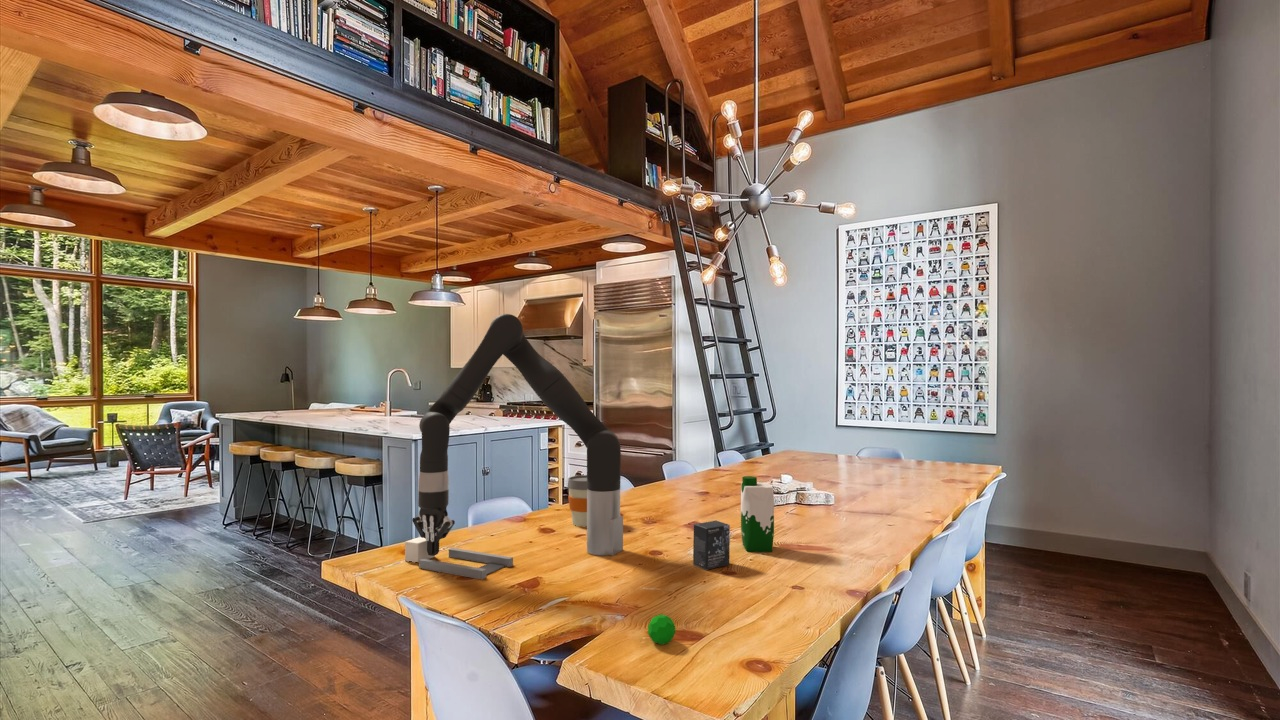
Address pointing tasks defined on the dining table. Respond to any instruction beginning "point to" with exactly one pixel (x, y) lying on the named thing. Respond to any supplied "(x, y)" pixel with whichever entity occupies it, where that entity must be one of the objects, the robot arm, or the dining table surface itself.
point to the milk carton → (757, 515)
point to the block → (416, 550)
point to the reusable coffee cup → (578, 499)
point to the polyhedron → (661, 629)
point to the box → (711, 545)
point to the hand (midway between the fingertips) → (432, 554)
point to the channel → (479, 573)
